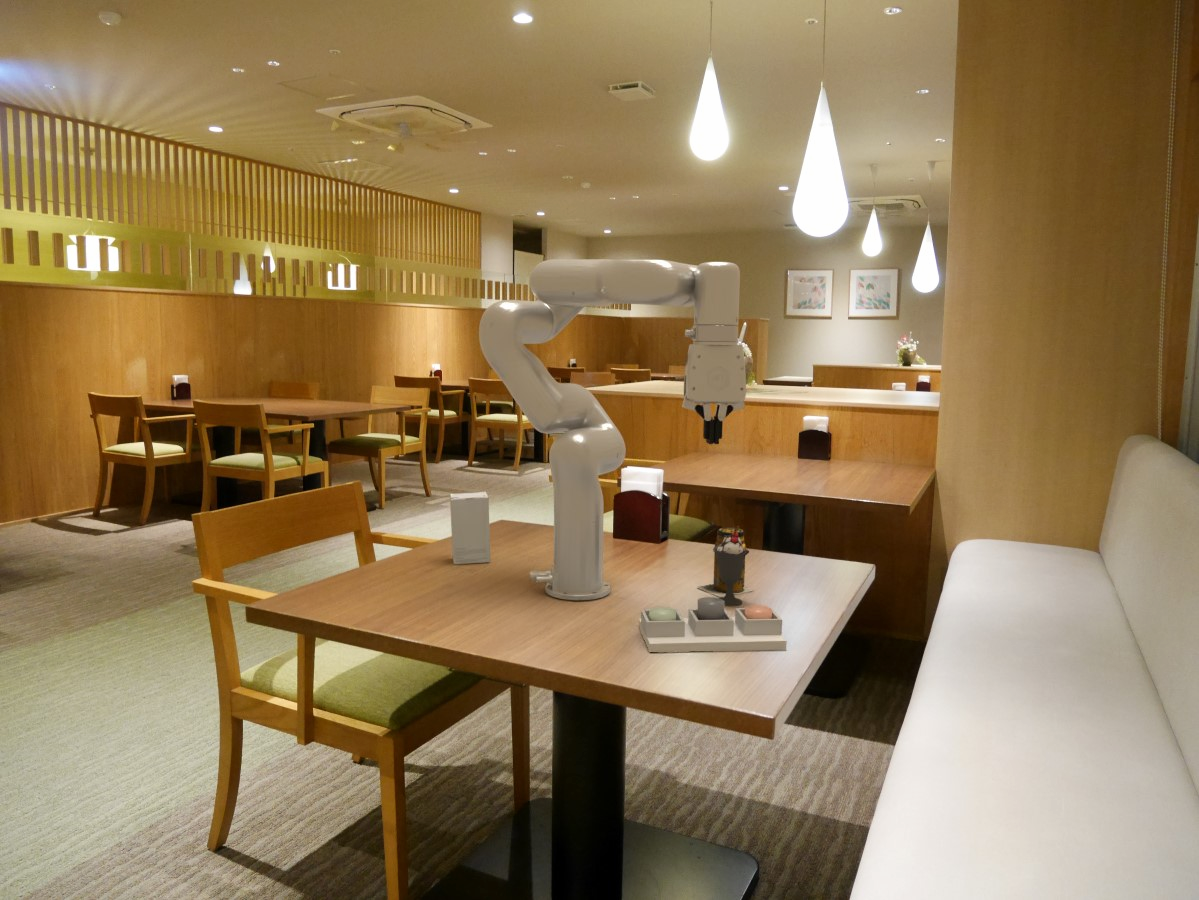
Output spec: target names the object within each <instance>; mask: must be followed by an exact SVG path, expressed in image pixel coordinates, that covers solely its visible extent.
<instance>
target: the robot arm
mask: <svg viewBox="0 0 1199 900" xmlns="http://www.w3.org/2000/svg"><path fill="white" fill-rule="evenodd" d="M528 281H529V283H528V284H529V288H530V290H531V293H532V294H533V296H534V297H535V298H536V300H535V301H533V300H524V299H523V300H521V299H520V300H519V299H505V300H500V301H496V302H494V303H492V304H490V305H489V306H488V307H487V308H486V309H485V310H484V311H483V313H482V315H481V318H480V322H479V325H478V326H479V328H478V340H479V345H480V349H481V352H482V354H483V356H484V358H485V360H486V362H487V363H488V365H489V366H490V367H491V368H492V370H493V371H494V373H495V374H496V375H497V377H498V378H499V379H500V380H501V381H502V383H503V384H504V386H505V387H506V389H507V390H508V392H509V394H510V395H511V397H512V398H513V399H514V401H515V402H516V404H517V405H518V407H519V409H520V410H521V411H522V413H523V414H524V416H525V417H526V419H527V420H528V422H529V423H530V424H531V426H532V427H533V428H534V430H536V431H537V432H539V433H542V434H549V435H550V434H551V435H552V434H558V433H561V434H560V435H558V436H557V437H556V438H555V440H554V441H553V442H552V444H551V446H550V449H549V455H548V456H549V457H548V458H549V459H548V460H549V468H550V473H551V479H552V486H553V487H552V489H553V564H551V568H550V569H549V568H547V569H546V570H543V571H542V570H541V571H540V570H530V571H529V572H530V573H529V581H530V582H535V581H536V584H543V583H546V585H545V593H546V594H547V595H548V596H551V597H553V598H556V599H561V600H565V601H566V600H567V601H591V600H597V599H602V598H605V597H606V596H608V595H609V594H610V593H611V592H612V590H611V584H610V583H609V582H608V581H605V580H604V577H603V576H604V575H603V574H604V573H603V571H604V563H603V562H604V506H605V505H604V495H603V490H602V487H601V483H600V479H599V476H601V475H605V474H608V473H611V472H614V471H616V470H617V469H618V468H620V467H621V465H622V464H623V463H624V461H625V459H626V454H627V451H626V450H627V449H626V443H625V439H624V437H623V436H622V433H621V432H620V430H619V429H618V427H617V426H616V425H615V424H614V422H613V421H612V419H611V417H610V416H609V415H608V413H607V412H606V411H605V409H604V408H603V406H602V405H601V403H600V402H599V401H598V399H597V398H596V397H595V396H594V394H593V393H592V392H591V391H589V390H588V389H587V388H585V387H584V386H582V385H580V384H578V383H570V382H569V383H560V382H558V381H557V380H556V379H554V377H553V376H552V375H551V374H550V372H549V371H548V369H547V368H546V367H545V365H544V363H543V361H541V360H540V358H539V357H537V355H535V354H534V353H533V352H531V351H530V350H529V349H528V348H527V347H526V345H525V344H527V345H533V344H535V345H538V344H539V345H541V344H544V343H547V342H549V341H551V340H553V338H555V337H556V336H558V335H559V334H560V333H561V332H562V330H563V329H564V328H566V326H567V325H569V324H570V323H571V321H573V319H574V318H576V317H577V315H578V314H579V313H580V312H581V311H582V310H583V309H584V308H585V307H600V308H606V307H611V306H612V305H614V304H615V305H616V304H618V305H619V304H622V305H624V304H625V305H627V304H628V305H646V306H647V305H649V306H665V307H675V308H688V307H693V309H694V310H693V325H692V327H691V328H689V329H687V328H686V329H685V330H684V337H685V338H690V339H691V340H692V341H693V342H692V343H690V344H688V345H689V346H688V350H687V355H686V361H685V369H684V378H683V401H682V405H681V406H682V408H684V409H686V410H688V411H694V412H696V413H697V414H698V415H699V417H701V419H702V420H703V429H702V430H703V431H702V432H703V433H702V434H703V435H702V436H703V437H702V438H703V440H705V443H707V444H709V445H713V444H714V445H719V444H720V440H722V439H723V425H724V424H723V422H724V421H725V420H726V418H727V417H728V416H729V415H730V414H731V413H732V412H736V411H740V410H744V408H745V406H746V404H745V400H746V396H747V378H746V377H747V376H746V375H747V374H746V361H745V360H746V359H745V351H744V345H743V344H739V343H738V341H739V316H740V312H739V311H740V290H741V289H740V286H741V283H740V281H741V271H740V267H739V266H738V265H737V264H736V263H734V262H728V261H706V262H702V263H699V264H698V265H695V264H689V263H684V262H683V263H682V262H679V261H678V262H677V261H674V260H673V261H672V260H667V259H611V258H609V259H608V258H602V259H601V258H599V259H598V258H597V259H594V258H593V259H591V258H589V259H588V258H587V259H586V258H584V259H583V258H579V259H578V258H577V259H576V258H574V259H573V258H572V259H571V258H561V259H560V258H557V259H556V258H554V259H547V260H544V261H541V262H540V263H538V264H537V265H535V266H534V267H533V269H532V270H531V272H530V275H529V280H528ZM711 404H716V407H715V413H714V416H712V409H711Z"/></svg>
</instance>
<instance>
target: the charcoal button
mask: <svg viewBox="0 0 1199 900" xmlns="http://www.w3.org/2000/svg"><path fill="white" fill-rule="evenodd" d="M719 598H720V597H713V596H712V597H711V596H705V597H700V598H698V599H697V608H696V609H697V619H698V620H724V609H726V608H725V606H726V605H725V601H724V600H722V599H719Z"/></svg>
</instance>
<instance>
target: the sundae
mask: <svg viewBox="0 0 1199 900" xmlns="http://www.w3.org/2000/svg"><path fill="white" fill-rule="evenodd" d="M735 528H736V529H735V531H736V530H737V529H740V526H739V525H737V526H736V527H735ZM735 531H734V533H732V535H728V536H727V535H725V536H724V539H723V542H722V544H721V545H720V546H716V547H715V546H714V547H713V548H712V551H713V553H716V554H717V559H718V569H719V575H720V578H721V579H722V581H724V582H725V583H726V585H727V592H726V595H725V596H724V597H718V598H719V599H722V600H724V601H725V606H726V607H738V606H741V605H742V604H743V600H742V599H741V598H738V597H736V596H735V594H733V585H734V584H735V583H736V582H738V580H739V579H740V578H741V575H742V571H743V564H744V559H745V560H746V556H747V555H748V554H749V553H750V550H748V549H747V547H746V548H744V547H743V545H742V543H741V540H740V538H739V537H738V533H736V532H735Z"/></svg>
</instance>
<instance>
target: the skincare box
mask: <svg viewBox="0 0 1199 900" xmlns="http://www.w3.org/2000/svg"><path fill="white" fill-rule="evenodd" d="M489 501H490V498H489V494H487V491H478V492H464V493H450V495H449V502H450V503H449V505H450V528H451V529H450V530H451V550H452V560H453V565H454V566H455V565H465V564H467V565H468V564H479V563H480V564H481V563H490V562H491V561H492V560H491V540H490V539H491V534H490V533H491V532H490V531H491V530H490V504H489V503H490V502H489Z"/></svg>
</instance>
